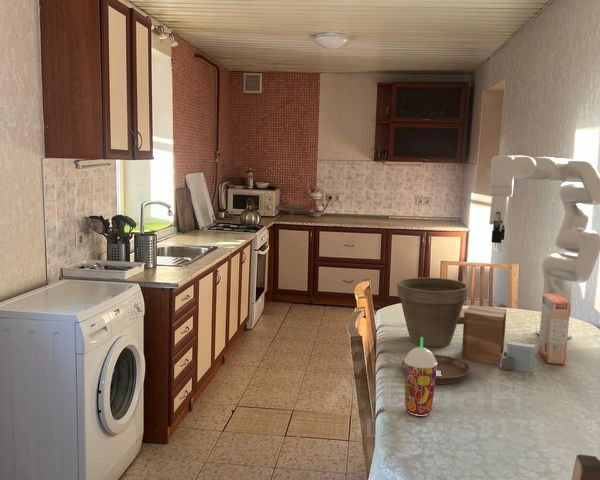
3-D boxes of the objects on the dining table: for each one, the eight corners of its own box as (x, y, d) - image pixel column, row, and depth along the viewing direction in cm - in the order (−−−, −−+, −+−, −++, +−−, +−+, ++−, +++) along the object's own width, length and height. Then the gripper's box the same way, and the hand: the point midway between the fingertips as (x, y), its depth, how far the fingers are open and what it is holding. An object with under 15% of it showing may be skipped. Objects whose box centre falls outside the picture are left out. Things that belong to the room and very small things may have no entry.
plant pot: (388, 346, 200) (390, 286, 197) (402, 328, 223) (404, 274, 220) (460, 356, 191) (464, 293, 188) (468, 336, 213) (471, 280, 211)
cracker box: (566, 365, 183) (571, 302, 181) (546, 363, 185) (551, 301, 182) (555, 352, 197) (560, 293, 194) (537, 350, 198) (542, 292, 196)
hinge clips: (501, 361, 186) (502, 350, 185) (515, 363, 184) (516, 352, 183) (498, 369, 178) (499, 357, 178) (513, 371, 177) (514, 359, 176)
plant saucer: (394, 381, 167) (394, 370, 167) (407, 360, 186) (408, 350, 186) (466, 392, 160) (467, 381, 159) (472, 369, 179) (473, 359, 179)
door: (506, 365, 183) (508, 341, 182) (533, 369, 179) (535, 345, 178) (505, 368, 180) (507, 343, 179) (532, 372, 177) (534, 347, 176)
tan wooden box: (467, 349, 198) (469, 304, 196) (503, 354, 193) (506, 309, 191) (461, 359, 187) (464, 312, 185) (499, 365, 182) (502, 317, 180)
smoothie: (398, 405, 149) (401, 332, 147) (428, 405, 150) (432, 332, 147) (406, 419, 141) (410, 342, 138) (439, 419, 142) (443, 342, 139)
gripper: (492, 190, 203) (489, 237, 206) (486, 192, 188) (483, 243, 190) (514, 191, 200) (511, 239, 203) (510, 193, 185) (507, 244, 187)
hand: (497, 241), depth 196 cm, fingers open, 9 cm apart
